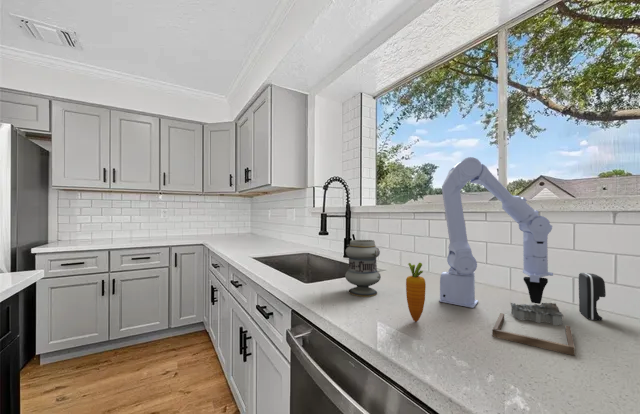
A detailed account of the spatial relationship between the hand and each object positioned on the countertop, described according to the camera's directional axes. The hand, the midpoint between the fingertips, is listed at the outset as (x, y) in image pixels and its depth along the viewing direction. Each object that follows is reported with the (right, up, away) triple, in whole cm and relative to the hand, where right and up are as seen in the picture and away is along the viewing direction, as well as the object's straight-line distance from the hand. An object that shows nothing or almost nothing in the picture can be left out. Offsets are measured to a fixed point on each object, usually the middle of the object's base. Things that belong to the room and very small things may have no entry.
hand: (535, 302), depth 83 cm
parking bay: (-15, -1, -19) cm, 24 cm away
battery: (+9, -2, -8) cm, 12 cm away
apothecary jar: (-49, -2, +15) cm, 51 cm away
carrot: (-39, -1, -12) cm, 41 cm away
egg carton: (-7, -2, -9) cm, 11 cm away
